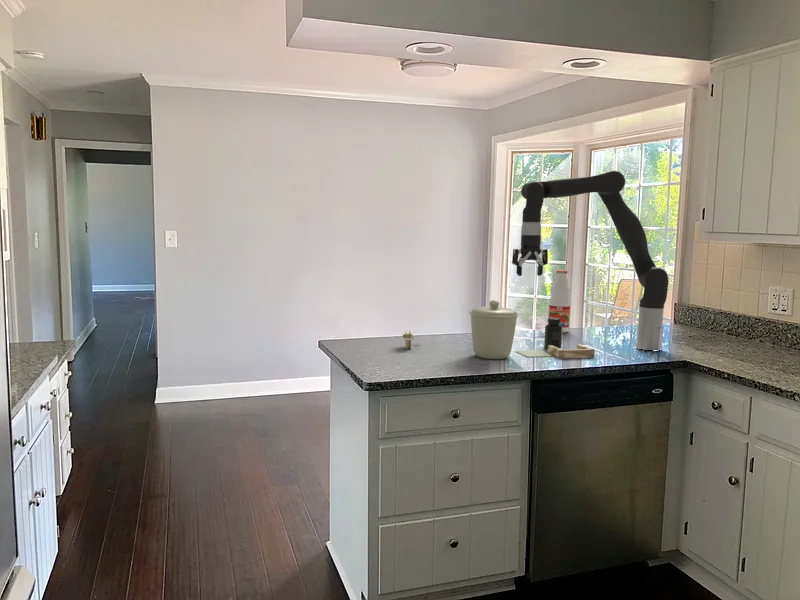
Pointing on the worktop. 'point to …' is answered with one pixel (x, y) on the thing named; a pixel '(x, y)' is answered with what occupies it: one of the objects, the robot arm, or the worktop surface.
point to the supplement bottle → (553, 333)
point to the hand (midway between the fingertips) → (529, 275)
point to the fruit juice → (560, 300)
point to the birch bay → (571, 352)
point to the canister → (493, 330)
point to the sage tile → (534, 353)
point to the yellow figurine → (408, 339)
